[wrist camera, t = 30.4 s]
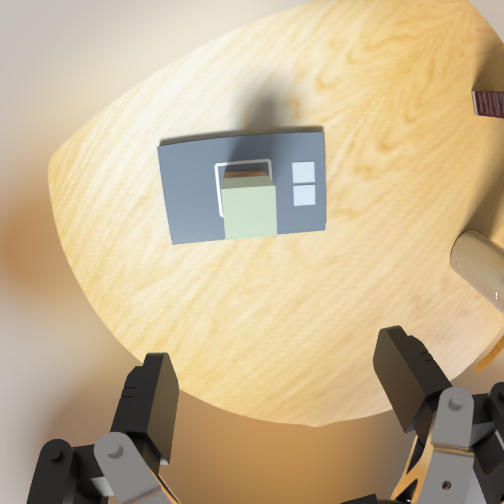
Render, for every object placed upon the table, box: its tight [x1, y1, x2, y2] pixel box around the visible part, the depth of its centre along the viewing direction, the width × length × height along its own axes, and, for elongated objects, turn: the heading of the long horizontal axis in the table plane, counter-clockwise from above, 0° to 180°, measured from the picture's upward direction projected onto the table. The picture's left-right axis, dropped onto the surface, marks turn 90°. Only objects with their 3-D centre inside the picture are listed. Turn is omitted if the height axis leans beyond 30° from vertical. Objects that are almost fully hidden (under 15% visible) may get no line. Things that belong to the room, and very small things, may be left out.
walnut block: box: [223, 168, 268, 179], centre depth 36 cm, size 5×5×6 cm
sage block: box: [221, 176, 277, 240], centre depth 31 cm, size 5×5×6 cm
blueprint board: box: [157, 132, 325, 245], centre depth 39 cm, size 22×14×1 cm, turn 95°
